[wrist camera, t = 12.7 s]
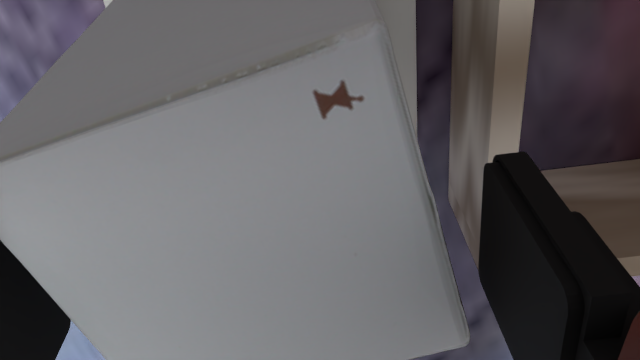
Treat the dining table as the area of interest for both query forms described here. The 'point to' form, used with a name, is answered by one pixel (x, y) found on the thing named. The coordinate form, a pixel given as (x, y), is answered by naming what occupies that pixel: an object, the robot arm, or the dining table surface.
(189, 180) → the supplement box
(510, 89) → the cold frame
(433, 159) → the dining table surface
